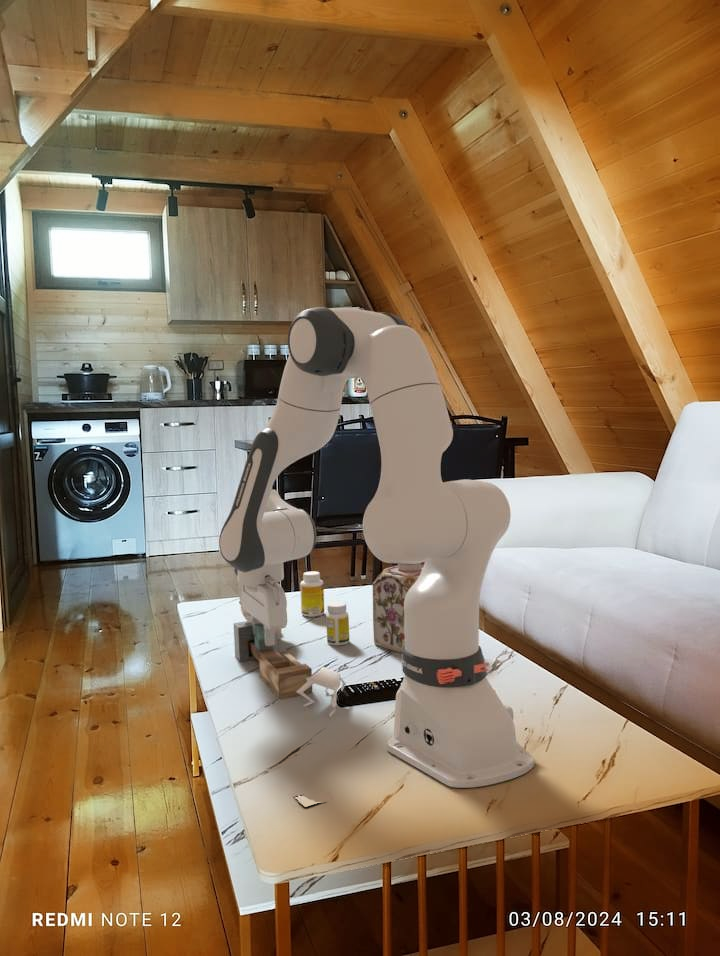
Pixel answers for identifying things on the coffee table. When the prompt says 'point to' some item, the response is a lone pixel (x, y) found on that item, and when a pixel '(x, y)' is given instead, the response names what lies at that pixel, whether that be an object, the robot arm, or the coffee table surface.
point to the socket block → (246, 640)
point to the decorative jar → (392, 604)
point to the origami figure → (324, 684)
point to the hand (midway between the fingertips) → (264, 640)
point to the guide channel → (285, 677)
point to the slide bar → (265, 649)
